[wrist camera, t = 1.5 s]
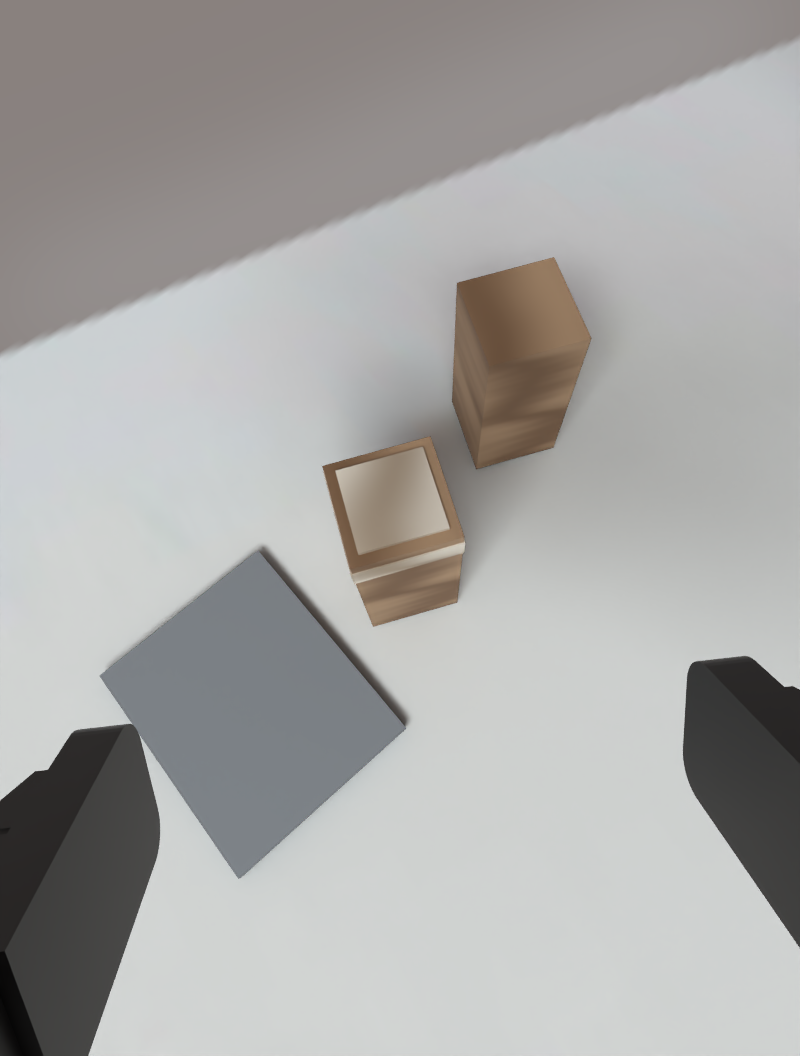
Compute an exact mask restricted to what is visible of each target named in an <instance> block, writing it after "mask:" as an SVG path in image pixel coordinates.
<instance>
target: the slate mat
mask: <svg viewBox="0 0 800 1056" xmlns="http://www.w3.org/2000/svg"><path fill="white" fill-rule="evenodd" d="M100 677H101V679H102V680H103V682H104V683H105V685H106V686H107V688H108V689H109V690H110V692H111V693H112V695H113V696H114V698H115V699H116V701H117V702H118V704H119V705H120V707H121V708H122V709H123V711H124V712H125V714H126V715H127V717H128V718H129V720H130V721H131V723H132V724H133V726H134V727H135V728H136V729H137V731H138V733H139V734H140V736H141V737H142V739H143V740H144V742H145V743H146V745H147V746H148V747H149V749H150V750H151V752H152V753H153V755H154V756H155V758H156V759H157V761H158V762H159V763H160V765H161V766H162V768H163V769H164V771H165V772H166V774H167V775H168V777H169V778H170V780H171V781H172V782H173V784H174V785H175V787H176V788H177V790H178V791H179V793H180V794H181V796H182V797H183V799H184V800H185V801H186V803H187V804H188V806H189V807H190V809H191V810H192V812H193V813H194V815H195V816H196V818H197V819H198V820H199V822H200V823H201V825H202V826H203V828H204V829H205V831H206V832H207V834H208V835H209V837H210V838H211V839H212V841H213V842H214V844H215V845H216V847H217V848H218V850H219V851H220V853H221V854H222V856H223V857H224V858H225V860H226V861H227V863H228V864H229V866H230V867H231V869H232V870H233V872H234V873H235V874H236V876H237V877H238V879H239V878H241V877H242V876H243V875H244V874H246V873H247V872H248V871H249V870H250V869H251V868H252V867H253V866H254V865H256V864H257V863H258V862H259V861H260V860H261V859H262V858H263V857H264V856H266V855H267V854H268V853H269V852H270V851H271V850H272V849H273V848H274V847H275V846H277V845H278V844H279V843H280V842H281V841H282V840H283V839H284V838H285V837H287V836H288V835H289V834H290V833H291V832H292V831H293V830H294V829H295V828H297V827H298V826H299V825H300V824H301V823H302V822H303V821H304V820H305V819H306V818H308V817H309V816H310V815H311V814H312V813H313V812H314V811H315V810H316V809H318V808H319V807H320V806H321V805H322V804H323V803H324V802H325V801H326V800H328V799H329V798H330V797H331V796H332V795H333V794H334V793H335V792H336V791H338V790H339V789H340V788H341V787H342V786H343V785H344V784H345V783H346V782H347V781H349V780H350V779H351V778H352V777H353V776H354V775H355V774H356V773H357V772H359V771H360V770H361V769H362V768H363V767H364V766H365V765H366V764H367V763H369V762H370V761H371V760H372V759H373V758H374V757H375V756H376V755H377V754H378V753H380V752H381V751H382V750H383V749H384V748H385V747H386V746H387V745H388V744H390V743H391V742H392V741H393V740H394V739H395V738H396V737H397V736H398V735H400V734H401V733H402V732H403V731H404V730H405V729H406V727H405V726H404V725H403V724H402V722H401V721H400V720H399V719H398V718H397V716H396V715H395V714H394V713H393V712H392V710H391V709H390V708H389V707H388V706H387V704H386V703H385V702H384V701H383V700H382V698H381V697H380V696H379V695H378V694H377V692H376V691H375V690H374V689H373V688H372V686H371V685H370V684H369V683H368V682H367V680H366V679H365V678H364V677H363V676H362V674H361V673H360V672H359V671H358V670H357V668H356V667H355V666H354V665H353V664H352V662H351V661H350V660H349V659H348V658H347V656H346V655H345V654H344V653H343V652H342V650H341V649H340V648H339V647H338V646H337V644H336V643H335V642H334V641H333V640H332V639H331V637H330V636H329V635H328V634H327V633H326V631H325V630H324V629H323V628H322V627H321V625H320V624H319V623H318V622H317V621H316V619H315V618H314V617H313V616H312V615H311V613H310V612H309V611H308V610H307V609H306V607H305V606H304V605H303V604H302V603H301V601H300V600H299V599H298V598H297V597H296V595H295V594H294V593H293V592H292V591H291V589H290V588H289V587H288V586H287V585H286V583H285V582H284V581H283V580H282V579H281V577H280V576H279V575H278V574H277V573H276V571H275V570H274V569H273V568H272V567H271V565H270V564H269V563H268V562H267V561H266V559H265V558H264V557H263V556H262V555H261V553H260V552H259V551H257V552H255V553H254V554H253V555H251V556H250V557H249V558H248V559H246V560H245V561H244V562H243V563H241V564H240V565H239V566H238V567H236V568H235V569H234V570H233V571H231V572H230V573H229V574H227V575H226V576H225V577H224V578H222V579H221V580H220V581H219V582H217V583H216V584H215V585H214V586H212V587H211V588H210V589H209V590H207V591H206V592H205V593H203V594H202V595H201V596H200V597H198V598H197V599H196V600H195V601H193V602H192V603H191V604H190V605H188V606H187V607H186V608H185V609H183V610H182V611H181V612H179V613H178V614H177V615H176V616H174V617H173V618H172V619H171V620H169V621H168V622H167V623H166V624H164V625H163V626H162V627H161V628H159V629H158V630H157V631H156V632H154V633H153V634H152V635H150V636H149V637H148V638H147V639H145V640H144V641H143V642H142V643H140V644H139V645H138V646H137V647H135V648H134V649H133V650H132V651H130V652H129V653H128V654H126V655H125V656H124V657H123V658H121V659H120V660H119V661H118V662H116V663H115V664H114V665H113V666H111V667H110V668H109V669H108V670H106V671H105V672H104V673H102V674H101V675H100Z"/></svg>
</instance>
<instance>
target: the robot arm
mask: <svg viewBox="0 0 800 1056" xmlns="http://www.w3.org/2000/svg"><path fill="white" fill-rule="evenodd" d="M683 760H684V766H685V771H686V774H687V778H688V781H689V784H690V786H691V788H692V790H693V792H694V794H695V796H696V798H697V799H698V801H699V802H700V804H701V805H702V806H703V808H704V809H705V811H706V812H707V814H708V815H709V817H710V818H711V819H712V821H713V822H714V824H715V825H716V827H717V828H718V830H719V831H720V833H721V834H722V835H723V837H724V838H725V840H726V841H727V843H728V844H729V846H730V847H731V849H732V850H733V851H734V853H735V854H736V856H737V857H738V859H739V860H740V862H741V863H742V864H743V866H744V867H745V869H746V870H747V872H748V873H749V875H750V876H751V878H752V879H753V880H754V882H755V883H756V885H757V886H758V888H759V889H760V891H761V892H762V894H763V895H764V896H765V898H766V899H767V901H768V902H769V904H770V905H771V907H772V908H773V910H774V911H775V912H776V914H777V915H778V917H779V918H780V920H781V921H782V923H783V924H784V925H785V927H786V928H787V930H788V931H789V933H790V934H791V936H792V937H793V939H794V940H795V941H796V943H797V944H798V946H799V947H800V690H799V689H797V688H795V687H793V686H791V687H784V686H783V685H781V684H780V683H779V682H778V681H777V680H776V679H775V678H774V677H773V676H771V675H770V674H769V673H768V672H767V671H766V670H765V669H764V668H763V667H761V666H760V665H759V664H758V663H757V662H756V661H755V660H753V659H752V658H750V657H748V656H741V657H732V658H723V659H714V660H705V661H697V662H694V663H692V664H691V666H690V668H689V670H688V675H687V689H686V707H685V724H684V741H683ZM159 841H160V819H159V812H158V808H157V804H156V800H155V796H154V792H153V788H152V784H151V780H150V776H149V772H148V768H147V763H146V759H145V755H144V751H143V747H142V743H141V739H140V736H139V733H138V731H137V729H136V728H135V727H134V726H133V725H132V724H124V725H116V726H107V727H98V728H89V729H80V730H76V731H74V732H73V733H72V734H71V735H70V737H69V738H68V740H67V741H66V743H65V744H64V746H63V747H62V749H61V750H60V752H59V754H58V755H57V757H56V758H55V760H54V761H53V763H52V765H51V766H50V768H49V769H48V770H44V771H35V772H34V773H33V774H32V775H30V776H29V777H28V778H27V779H26V780H24V781H23V782H22V783H21V784H20V785H18V786H17V787H16V788H15V789H14V790H12V791H11V792H10V793H9V794H8V795H6V796H5V797H4V798H3V799H2V800H1V801H0V1056H88V1054H89V1052H90V1049H91V1046H92V1043H93V1040H94V1037H95V1034H96V1031H97V1029H98V1026H99V1023H100V1020H101V1017H102V1014H103V1011H104V1008H105V1005H106V1003H107V1000H108V997H109V994H110V991H111V988H112V985H113V982H114V980H115V977H116V974H117V971H118V968H119V965H120V962H121V959H122V957H123V954H124V951H125V948H126V945H127V942H128V939H129V936H130V933H131V931H132V928H133V925H134V922H135V919H136V916H137V913H138V910H139V908H140V905H141V902H142V899H143V896H144V893H145V890H146V887H147V885H148V882H149V879H150V876H151V873H152V870H153V867H154V864H155V861H156V858H157V854H158V849H159Z"/></svg>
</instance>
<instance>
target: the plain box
mask: <svg viewBox="0 0 800 1056" xmlns="http://www.w3.org/2000/svg"><path fill="white" fill-rule="evenodd" d="M590 341H591V336H590V334H589V332H588V330H587V328H586V326H585V323H584V321H583V319H582V317H581V315H580V313H579V310H578V308H577V306H576V304H575V302H574V300H573V297H572V295H571V293H570V291H569V289H568V287H567V284H566V282H565V280H564V278H563V276H562V273H561V271H560V269H559V267H558V265H557V263H556V260H555V258H554V257H553V258H549V259H546V260H542V261H538V262H534V263H531V264H527V265H523V266H519V267H515V268H512V269H508V270H504V271H500V272H497V273H493V274H489V275H485V276H481V277H478V278H474V279H470V280H466V281H463V282H459V283H457V296H456V320H455V345H454V369H453V393H452V402H453V405H454V408H455V411H456V414H457V416H458V419H459V422H460V425H461V428H462V430H463V433H464V436H465V439H466V442H467V444H468V447H469V450H470V453H471V456H472V458H473V461H474V464H475V467H476V469H478V468H482V467H485V466H489V465H492V464H496V463H500V462H503V461H507V460H510V459H514V458H517V457H521V456H525V455H528V454H532V453H535V452H539V451H543V450H546V449H550V448H553V447H554V444H555V441H556V439H557V436H558V433H559V430H560V427H561V424H562V421H563V418H564V416H565V413H566V410H567V407H568V404H569V401H570V398H571V396H572V393H573V390H574V387H575V384H576V381H577V378H578V375H579V373H580V370H581V367H582V364H583V361H584V358H585V355H586V352H587V350H588V347H589V344H590Z"/></svg>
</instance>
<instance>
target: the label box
mask: <svg viewBox="0 0 800 1056" xmlns="http://www.w3.org/2000/svg"><path fill="white" fill-rule="evenodd" d="M323 470H324V472H323V473H324V477H325V480H326V484H327V488H328V491H329V495H330V499H331V503H332V506H333V510H334V514H335V518H336V521H337V525H338V529H339V533H340V536H341V540H342V544H343V548H344V551H345V555H346V559H347V563H348V566H349V570H350V574H351V577H352V579H353V582H354V584H356V585H357V588H358V590H359V593H360V595H361V598H362V600H363V603H364V605H365V608H366V610H367V613H368V615H369V618H370V620H371V622H372V625H373V627H374V626H377V625H381V624H384V623H388V622H391V621H395V620H398V619H401V618H405V617H408V616H412V615H415V614H419V613H422V612H426V611H429V610H433V609H436V608H440V607H443V606H446V605H450V604H453V603H457V599H458V590H459V581H460V572H461V563H462V554H463V553H464V551H465V540H464V534H463V531H462V528H461V525H460V522H459V520H458V517H457V514H456V511H455V508H454V505H453V502H452V499H451V496H450V493H449V490H448V487H447V484H446V481H445V478H444V475H443V472H442V469H441V466H440V463H439V460H438V457H437V454H436V451H435V448H434V445H433V443H432V440H431V437H426V438H422V439H419V440H415V441H412V442H408V443H404V444H401V445H397V446H393V447H390V448H386V449H383V450H379V451H375V452H372V453H368V454H365V455H361V456H357V457H354V458H350V459H346V460H343V461H339V462H336V463H332V464H328V465H325V466H323Z"/></svg>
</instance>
